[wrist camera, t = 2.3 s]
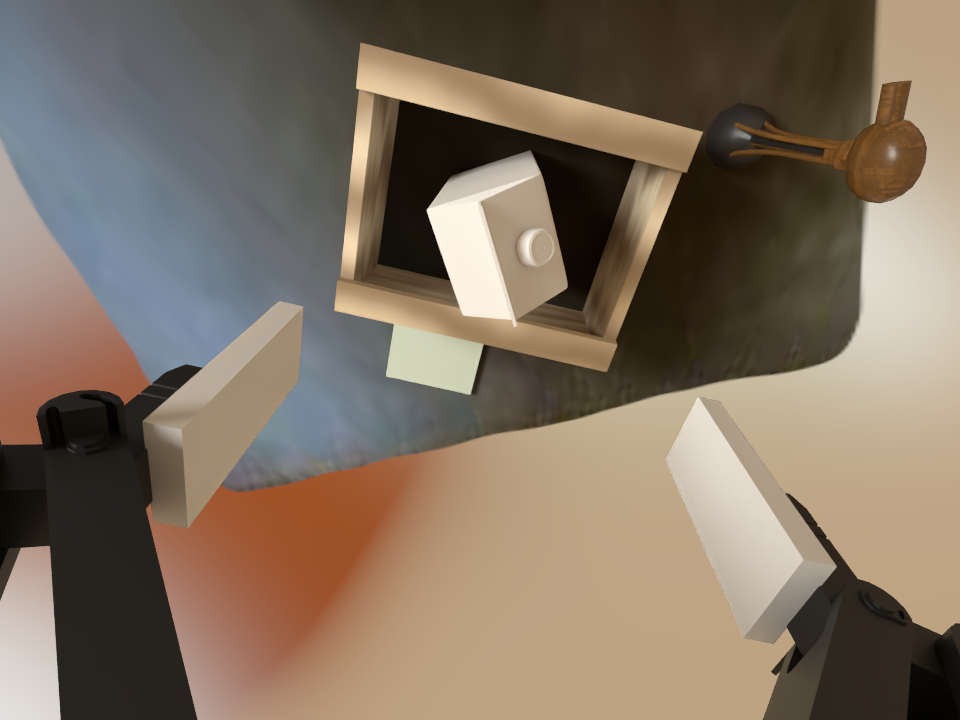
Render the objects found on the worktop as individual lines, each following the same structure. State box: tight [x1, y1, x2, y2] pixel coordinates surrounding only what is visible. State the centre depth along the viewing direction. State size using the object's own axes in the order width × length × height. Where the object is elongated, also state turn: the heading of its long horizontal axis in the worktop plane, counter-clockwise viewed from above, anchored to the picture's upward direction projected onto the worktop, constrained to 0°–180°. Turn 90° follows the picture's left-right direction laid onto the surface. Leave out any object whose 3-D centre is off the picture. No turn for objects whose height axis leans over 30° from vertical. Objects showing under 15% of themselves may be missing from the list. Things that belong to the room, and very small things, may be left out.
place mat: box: [386, 324, 483, 395], centre depth 50 cm, size 9×9×1 cm
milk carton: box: [427, 151, 568, 327], centre depth 36 cm, size 7×7×19 cm
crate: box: [335, 43, 703, 372], centre depth 40 cm, size 18×22×10 cm
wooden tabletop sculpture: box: [706, 81, 927, 203], centre depth 32 cm, size 6×5×20 cm
